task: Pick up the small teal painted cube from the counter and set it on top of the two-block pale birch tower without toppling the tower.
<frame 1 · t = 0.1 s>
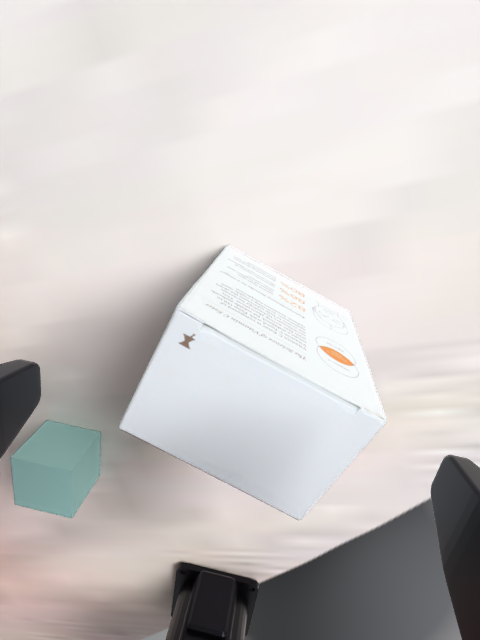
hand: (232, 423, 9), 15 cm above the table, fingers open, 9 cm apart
teal cube: (74, 447, 30), on the table
small box: (267, 315, 24), on the table
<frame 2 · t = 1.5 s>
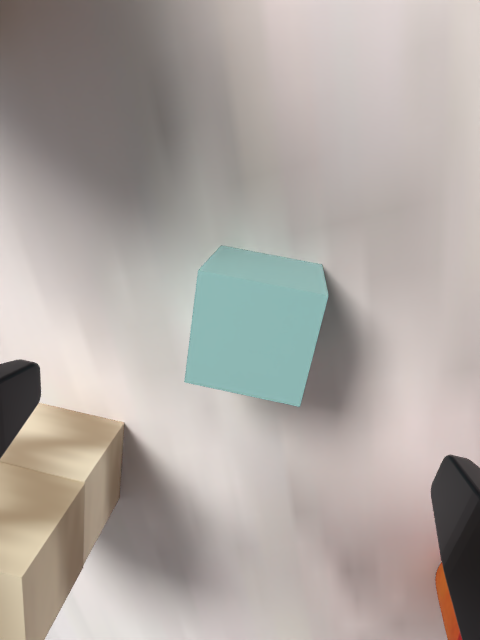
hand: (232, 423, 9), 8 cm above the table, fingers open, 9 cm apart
birch lower block: (75, 450, 21), on the table, touching birch upper block
birch upper block: (28, 513, 17), point 4 cm above the table, touching birch lower block
teal cube: (262, 301, 17), on the table
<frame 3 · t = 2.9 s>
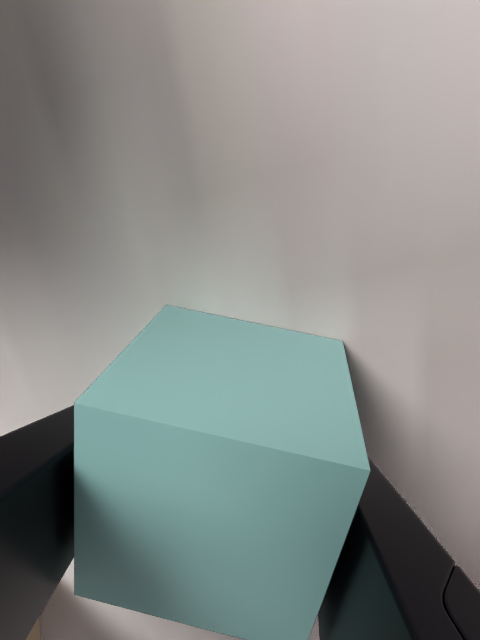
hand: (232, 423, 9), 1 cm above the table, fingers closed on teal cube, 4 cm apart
teal cube: (238, 397, 10), on the table, touching gripper
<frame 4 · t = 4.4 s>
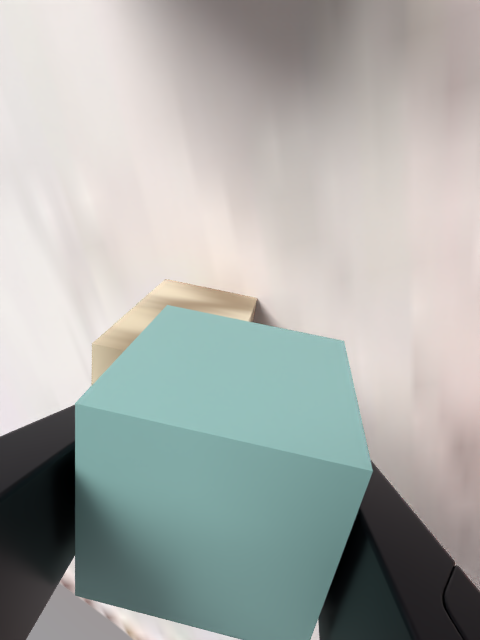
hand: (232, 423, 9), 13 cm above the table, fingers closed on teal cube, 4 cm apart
birch lower block: (205, 330, 22), on the table, touching birch upper block
birch upper block: (185, 365, 19), point 4 cm above the table, touching birch lower block
teal cube: (239, 397, 10), point 12 cm above the table, touching gripper
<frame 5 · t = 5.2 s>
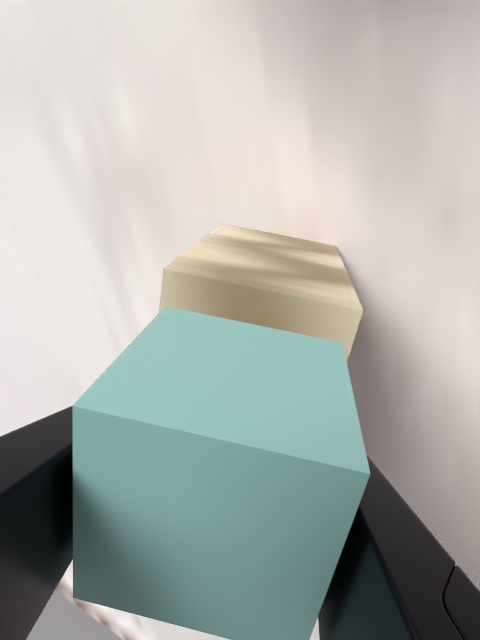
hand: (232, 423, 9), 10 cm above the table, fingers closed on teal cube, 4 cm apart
birch lower block: (267, 289, 18), on the table, touching birch upper block
birch upper block: (258, 321, 15), point 4 cm above the table, touching birch lower block
teal cube: (238, 399, 10), point 9 cm above the table, touching gripper
when the fingers open (10 cm above the table, at t = 5.9 s): teal cube drops 1 cm, resting on birch upper block.
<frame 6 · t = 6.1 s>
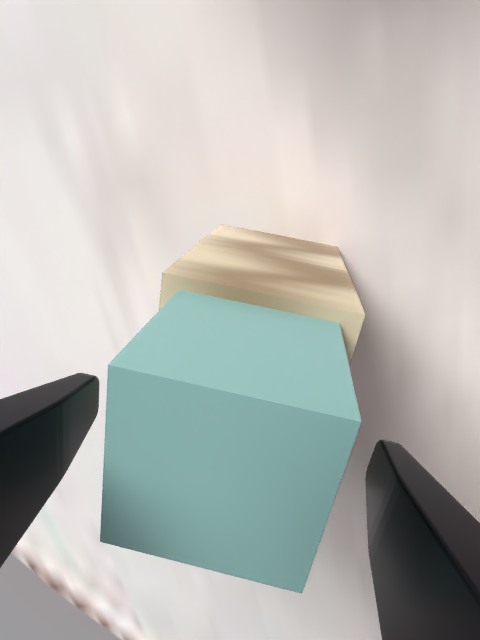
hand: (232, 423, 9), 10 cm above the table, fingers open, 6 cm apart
birch lower block: (267, 290, 18), on the table, touching birch upper block
birch upper block: (259, 324, 14), point 4 cm above the table, touching birch lower block, teal cube
teal cube: (244, 375, 11), point 8 cm above the table, touching birch upper block
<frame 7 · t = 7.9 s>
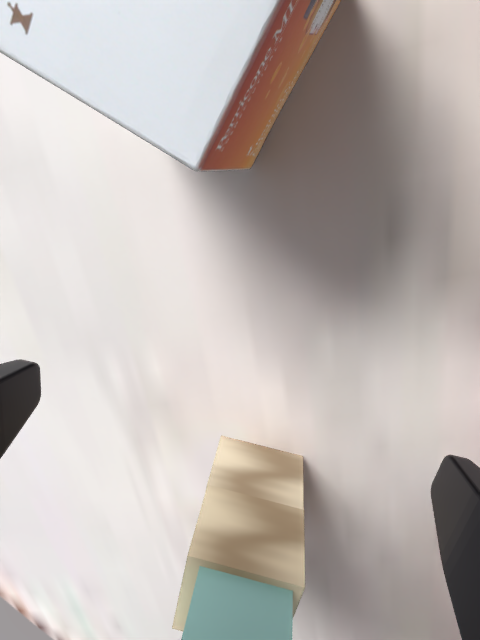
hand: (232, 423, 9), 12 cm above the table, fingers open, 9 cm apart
birch lower block: (253, 477, 25), on the table, touching birch upper block
birch upper block: (245, 531, 21), point 4 cm above the table, touching birch lower block, teal cube
teal cube: (237, 608, 18), point 8 cm above the table, touching birch upper block
small box: (242, 48, 17), on the table
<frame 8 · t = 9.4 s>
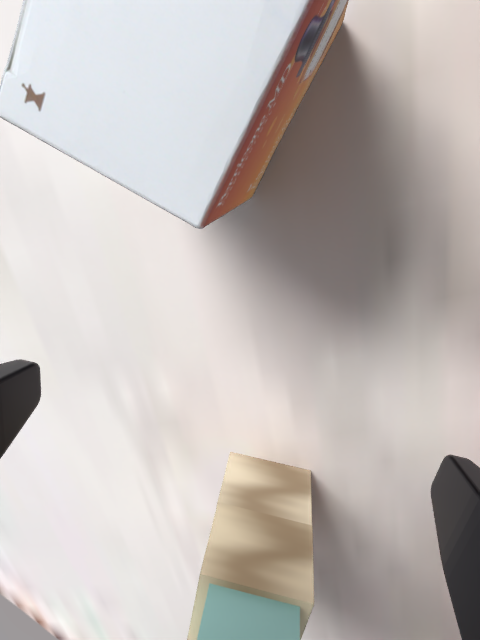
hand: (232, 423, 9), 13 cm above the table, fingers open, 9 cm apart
birch lower block: (262, 491, 26), on the table, touching birch upper block
birch upper block: (256, 546, 22), point 4 cm above the table, touching birch lower block, teal cube
teal cube: (246, 623, 18), point 8 cm above the table, touching birch upper block
small box: (240, 84, 18), on the table
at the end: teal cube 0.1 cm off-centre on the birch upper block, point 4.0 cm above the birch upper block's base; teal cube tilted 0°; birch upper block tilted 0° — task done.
